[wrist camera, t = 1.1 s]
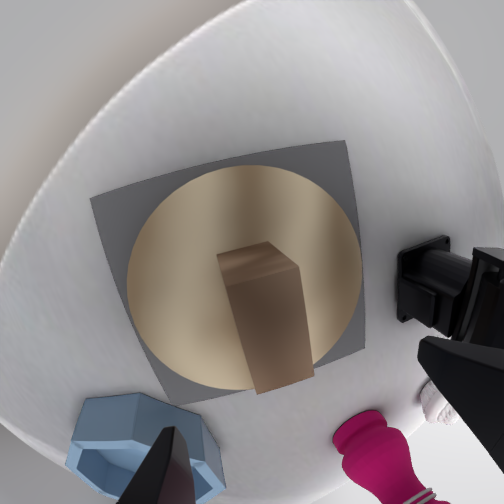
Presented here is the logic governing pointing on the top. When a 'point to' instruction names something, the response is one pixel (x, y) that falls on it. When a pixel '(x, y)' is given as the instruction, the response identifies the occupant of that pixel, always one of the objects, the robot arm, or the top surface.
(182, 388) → the mat
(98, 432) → the bowl
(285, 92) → the top surface
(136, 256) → the lid
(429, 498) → the pepper mill
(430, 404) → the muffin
